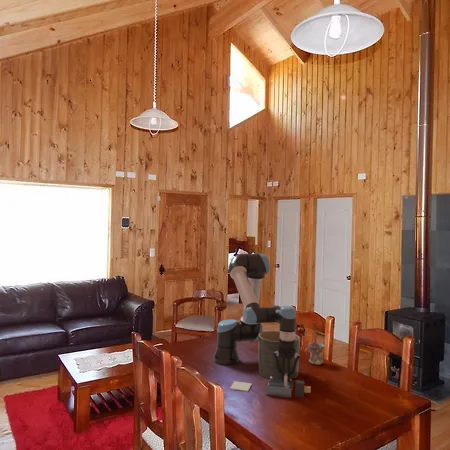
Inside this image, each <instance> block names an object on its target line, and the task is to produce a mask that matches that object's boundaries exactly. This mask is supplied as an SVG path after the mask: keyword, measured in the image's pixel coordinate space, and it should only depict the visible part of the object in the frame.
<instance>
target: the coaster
mask: <svg viewBox="0 0 450 450" xmlns="http://www.w3.org/2000/svg"><path fill="white" fill-rule="evenodd" d="M251 387H252V383H250V382H242V381H237V380H236V381H235V380H234V381H233V383H232V384H231V386H230V387H229V390H233V391H240V392H246V393H247V392H249V391H250V389H251Z"/></svg>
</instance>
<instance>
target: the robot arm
mask: <svg viewBox="0 0 450 450" xmlns="http://www.w3.org/2000/svg"><path fill="white" fill-rule="evenodd" d="M270 270H271V269H270V261H269V259H268V257H267V255H266V254H264V253H239V254H236V255H235V256H233V257H232V258H231V260H230V262H229V265H228V273H229V276H230V278H231V279H232V280H233V282H234V284H235V286H236V289H237V292H238V294H239V297H240V300H241V302H242V305H243V311H242V316H241V317H240V318H239V319H240V320H239V321H238V320H236V319H232V318H231V319H230V318H229V319H223V320H221V321H220V322H218V324H217V330H216V333H217V335H216V339H217V340H216V349H215V352H214V355H213V362H215V363H216V364H219V365H225V366H230V365H236V364H238V363H240V356H239V355H240V354H239V352H238V351H239V350H238V348H237V345H238V344H237V343H249V342H251V343H253V342H257V341H258V342H259V334H260V333H262V332H264V331H263V324H265V323H266V324H267V323H269V324H271V323H278V324H279V331H280V333H279V338H280V339H279V349H278V351H276V352H274V354H273V355H274V357H275V359H276V364H277V369H278V373H280V374H282V381H283V382H284V386H288V382H290V375H294V371H295V368H296V364H297V361H298V359H299V360H300V358H301V354H300V353H299V354H297V353H296V351H295V340H294V339H295V334H296V326H297V325H296V323H297V322H296V321H297V312H296V311H297V310H296V308H295V307H294V306H290V305H282V306H279V305H276V304H274V305H271V306H269V307H268V306H265V307H261V306H260V299H261V289H262V281H263V280H264V279H265V277H266V276H265V275H267V274H269V272H270ZM279 354H280V356H281V357H282V370H281V366H280V361H279V357H278V355H279ZM294 355H295V362H294V365H293V369H292V371H291V358H292V357H293V356H294ZM285 359H288V370H287V374H285ZM290 371H291V372H290Z"/></svg>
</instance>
